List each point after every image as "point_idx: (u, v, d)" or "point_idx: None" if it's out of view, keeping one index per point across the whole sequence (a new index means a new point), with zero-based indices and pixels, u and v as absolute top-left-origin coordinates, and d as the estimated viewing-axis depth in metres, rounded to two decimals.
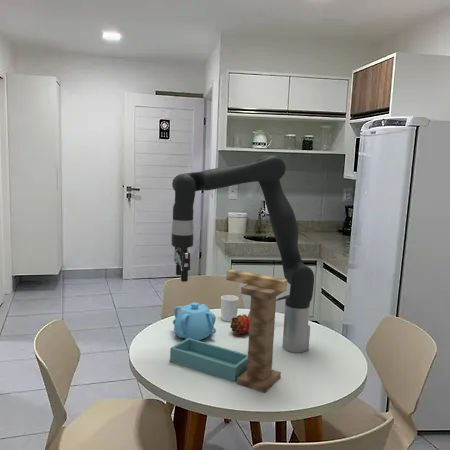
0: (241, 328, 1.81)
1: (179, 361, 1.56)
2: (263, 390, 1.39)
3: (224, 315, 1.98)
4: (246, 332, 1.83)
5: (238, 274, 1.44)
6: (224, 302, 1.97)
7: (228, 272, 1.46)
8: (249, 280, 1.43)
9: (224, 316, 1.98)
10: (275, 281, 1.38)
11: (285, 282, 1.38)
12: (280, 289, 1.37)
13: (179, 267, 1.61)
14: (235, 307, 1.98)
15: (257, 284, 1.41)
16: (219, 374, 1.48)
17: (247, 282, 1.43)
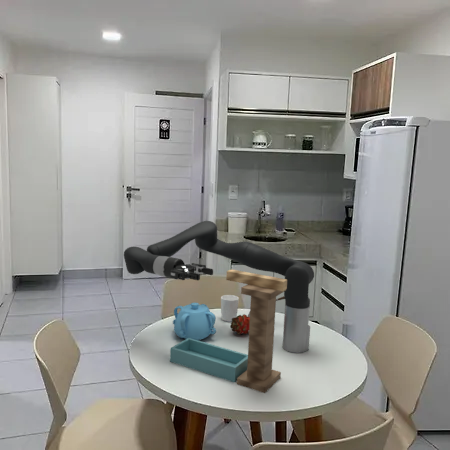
0: (241, 328, 1.81)
1: (179, 361, 1.56)
2: (263, 390, 1.39)
3: (224, 315, 1.98)
4: (246, 332, 1.83)
5: (238, 274, 1.44)
6: (224, 302, 1.97)
7: (228, 272, 1.46)
8: (249, 280, 1.43)
9: (224, 316, 1.98)
10: (275, 281, 1.38)
11: (285, 282, 1.38)
12: (280, 289, 1.37)
13: None
14: (235, 307, 1.98)
15: (257, 284, 1.41)
16: (219, 374, 1.48)
17: (247, 282, 1.43)
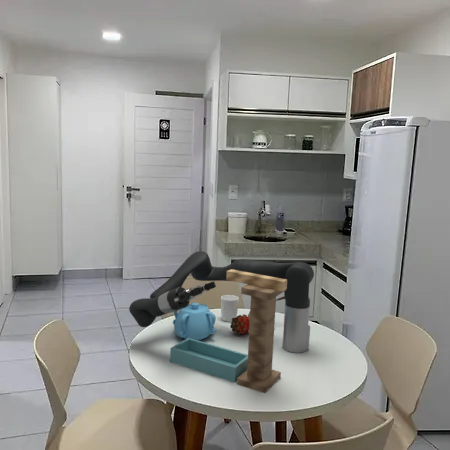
0: (241, 328, 1.81)
1: (179, 361, 1.56)
2: (263, 390, 1.39)
3: (224, 315, 1.98)
4: (246, 332, 1.83)
5: (238, 274, 1.44)
6: (224, 302, 1.97)
7: (228, 272, 1.46)
8: (249, 280, 1.43)
9: (224, 316, 1.98)
10: (275, 281, 1.38)
11: (285, 282, 1.38)
12: (280, 289, 1.37)
13: None
14: (235, 307, 1.98)
15: (257, 284, 1.41)
16: (219, 374, 1.48)
17: (247, 282, 1.43)
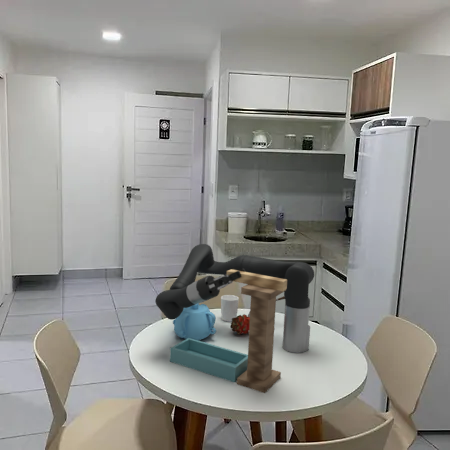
0: (241, 328, 1.81)
1: (179, 361, 1.56)
2: (263, 390, 1.39)
3: (224, 315, 1.98)
4: (246, 332, 1.83)
5: None
6: (224, 302, 1.97)
7: (228, 272, 1.46)
8: (249, 280, 1.43)
9: (224, 316, 1.98)
10: (275, 281, 1.38)
11: (285, 282, 1.38)
12: (280, 289, 1.37)
13: None
14: (235, 307, 1.98)
15: (257, 284, 1.41)
16: (219, 374, 1.48)
17: (247, 282, 1.43)
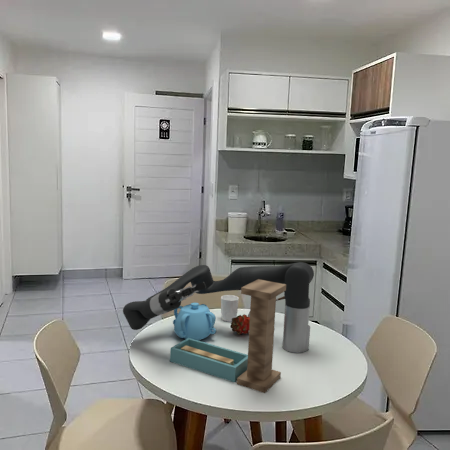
0: (241, 328, 1.81)
1: (179, 361, 1.56)
2: (263, 390, 1.39)
3: (224, 315, 1.98)
4: (246, 332, 1.83)
5: (191, 352, 1.57)
6: (224, 302, 1.97)
7: (182, 349, 1.59)
8: None
9: (224, 316, 1.98)
10: None
11: (231, 363, 1.51)
12: None
13: None
14: (235, 307, 1.98)
15: None
16: (219, 374, 1.48)
17: None
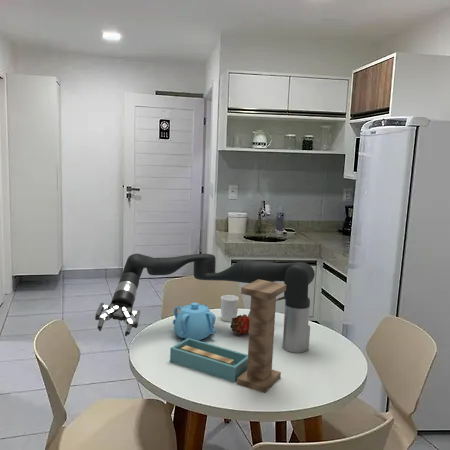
0: (241, 328, 1.81)
1: (179, 361, 1.56)
2: (263, 390, 1.39)
3: (224, 315, 1.98)
4: (246, 332, 1.83)
5: (191, 352, 1.57)
6: (224, 302, 1.97)
7: (182, 349, 1.59)
8: None
9: (224, 316, 1.98)
10: None
11: (231, 363, 1.51)
12: None
13: None
14: (235, 307, 1.98)
15: None
16: (219, 374, 1.48)
17: None
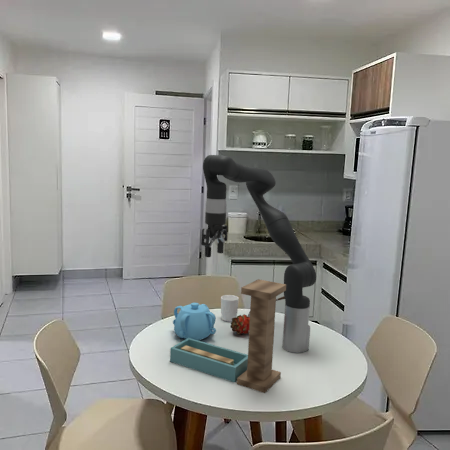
0: (241, 328, 1.81)
1: (179, 361, 1.56)
2: (263, 390, 1.39)
3: (224, 315, 1.98)
4: (246, 332, 1.83)
5: (191, 352, 1.57)
6: (224, 302, 1.97)
7: (182, 349, 1.59)
8: None
9: (224, 316, 1.98)
10: None
11: (231, 363, 1.51)
12: None
13: (220, 245, 1.67)
14: (235, 307, 1.98)
15: None
16: (219, 374, 1.48)
17: None
